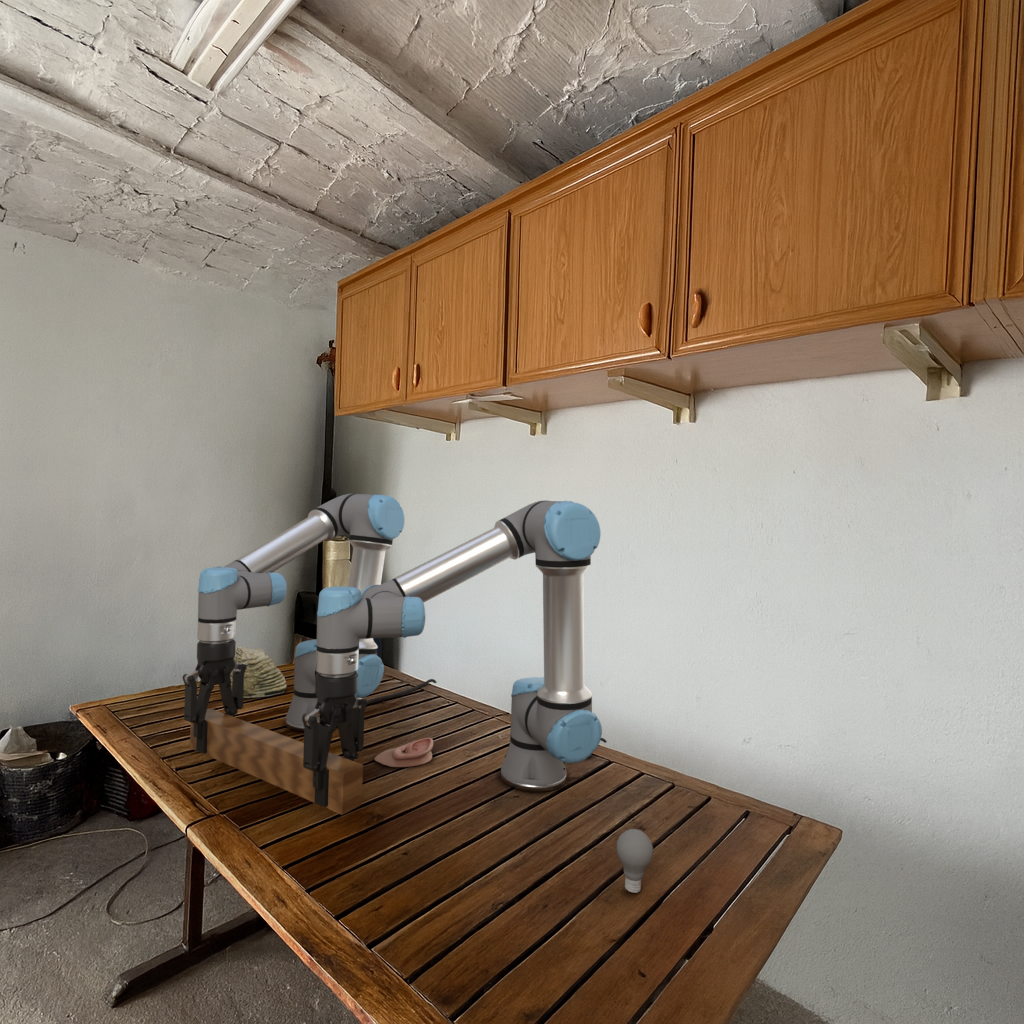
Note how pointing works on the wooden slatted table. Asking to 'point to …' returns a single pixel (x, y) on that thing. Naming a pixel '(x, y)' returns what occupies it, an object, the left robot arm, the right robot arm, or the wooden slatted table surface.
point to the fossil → (259, 673)
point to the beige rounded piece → (407, 754)
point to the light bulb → (634, 857)
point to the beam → (279, 760)
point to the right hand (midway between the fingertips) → (332, 798)
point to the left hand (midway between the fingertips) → (213, 747)
